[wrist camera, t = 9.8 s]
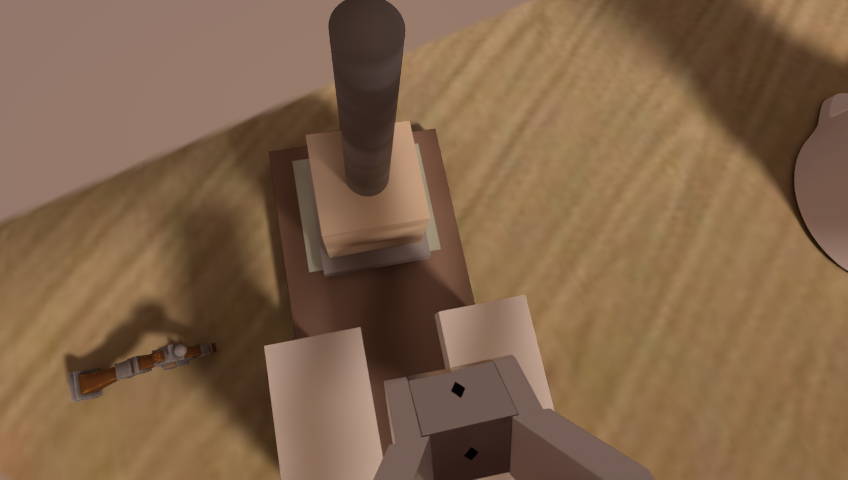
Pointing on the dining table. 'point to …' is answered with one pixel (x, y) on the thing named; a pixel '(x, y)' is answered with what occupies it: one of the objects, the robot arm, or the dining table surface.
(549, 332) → the dining table surface
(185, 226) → the dining table surface
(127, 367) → the toy flintlock pistol
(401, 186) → the rod on wooden block
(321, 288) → the tunnel track
